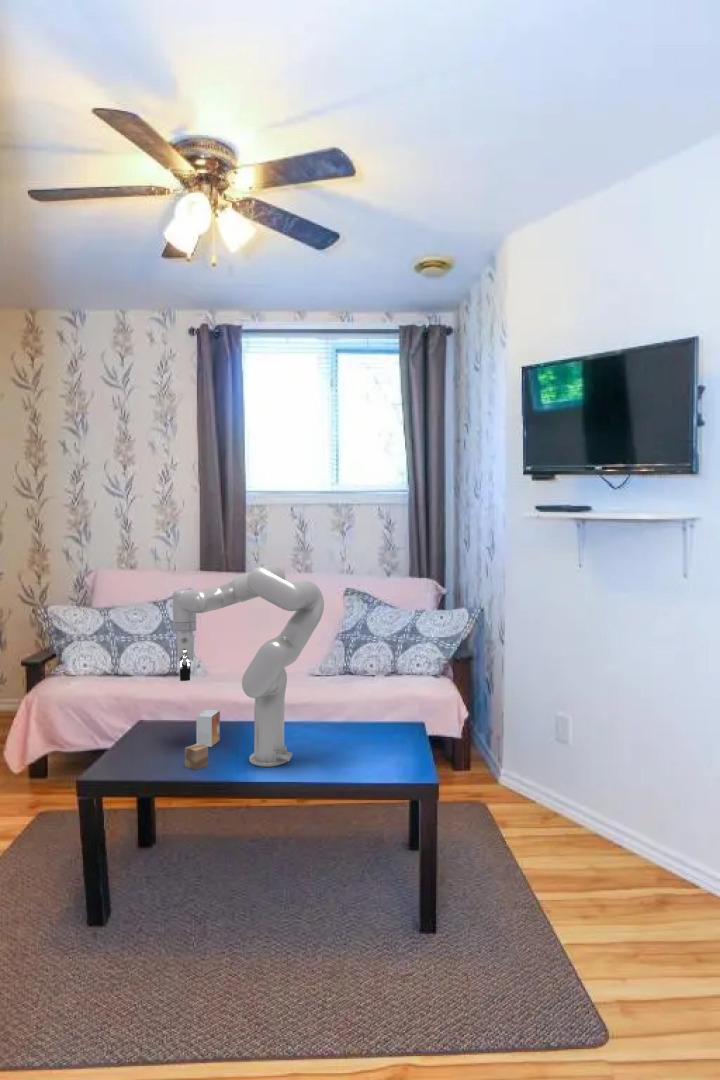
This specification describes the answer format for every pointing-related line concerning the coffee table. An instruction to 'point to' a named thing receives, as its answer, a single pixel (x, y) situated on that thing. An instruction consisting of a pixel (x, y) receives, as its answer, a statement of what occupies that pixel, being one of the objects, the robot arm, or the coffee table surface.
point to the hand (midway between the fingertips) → (185, 677)
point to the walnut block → (196, 756)
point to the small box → (208, 728)
